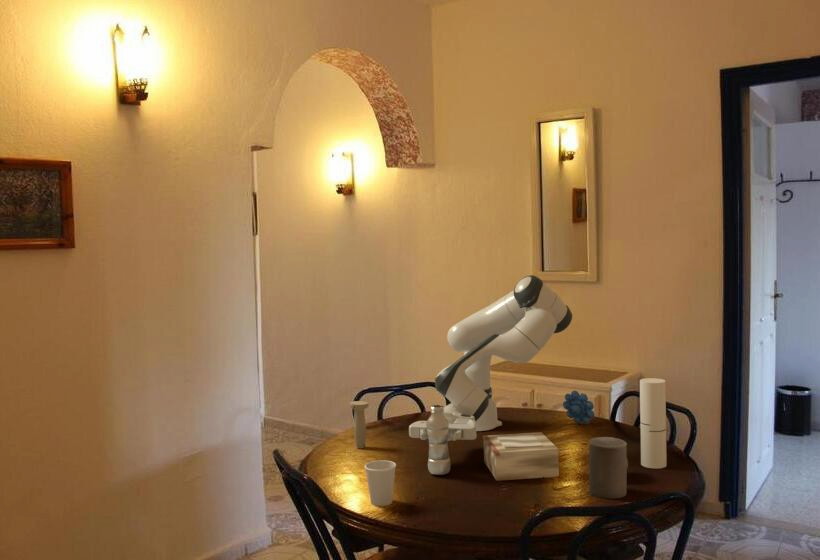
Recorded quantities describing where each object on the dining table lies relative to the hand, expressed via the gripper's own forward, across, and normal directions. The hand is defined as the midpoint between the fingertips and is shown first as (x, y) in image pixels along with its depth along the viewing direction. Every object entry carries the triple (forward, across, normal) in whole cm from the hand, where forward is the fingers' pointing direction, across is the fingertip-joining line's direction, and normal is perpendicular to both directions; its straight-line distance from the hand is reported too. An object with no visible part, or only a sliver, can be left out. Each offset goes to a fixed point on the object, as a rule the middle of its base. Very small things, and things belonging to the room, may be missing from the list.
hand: (437, 437), depth 219 cm
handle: (-24, -32, +11) cm, 41 cm away
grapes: (-62, +37, +11) cm, 73 cm away
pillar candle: (+7, +48, +11) cm, 49 cm away
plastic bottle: (-1, 0, +11) cm, 11 cm away
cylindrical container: (-19, +60, +11) cm, 64 cm away
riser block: (-9, +22, +11) cm, 27 cm away
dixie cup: (+24, -10, +11) cm, 28 cm away
